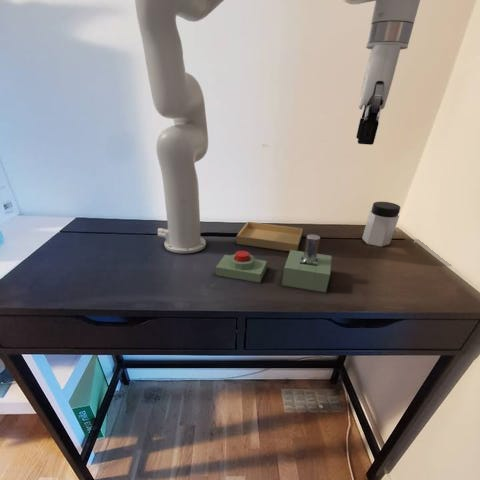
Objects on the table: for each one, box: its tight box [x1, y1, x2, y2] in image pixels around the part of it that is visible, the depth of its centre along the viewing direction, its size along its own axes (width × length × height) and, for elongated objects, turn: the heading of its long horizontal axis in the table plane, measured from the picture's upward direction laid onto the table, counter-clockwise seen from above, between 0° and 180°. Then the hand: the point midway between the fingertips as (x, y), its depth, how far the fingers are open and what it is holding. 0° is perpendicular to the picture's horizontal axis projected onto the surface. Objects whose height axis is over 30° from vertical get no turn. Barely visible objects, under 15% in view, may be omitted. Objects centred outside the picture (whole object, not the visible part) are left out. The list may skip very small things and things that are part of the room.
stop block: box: [215, 253, 268, 283], centre depth 83 cm, size 12×8×4 cm, turn 75°
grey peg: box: [300, 233, 321, 266], centre depth 79 cm, size 4×4×12 cm
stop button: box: [234, 250, 250, 262], centre depth 81 cm, size 4×4×2 cm
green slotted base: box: [281, 250, 333, 293], centre depth 81 cm, size 11×11×5 cm
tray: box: [235, 221, 304, 252], centre depth 102 cm, size 19×14×3 cm
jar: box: [361, 201, 401, 248], centre depth 101 cm, size 9×8×12 cm
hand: (364, 141), depth 69 cm, fingers open, 9 cm apart
